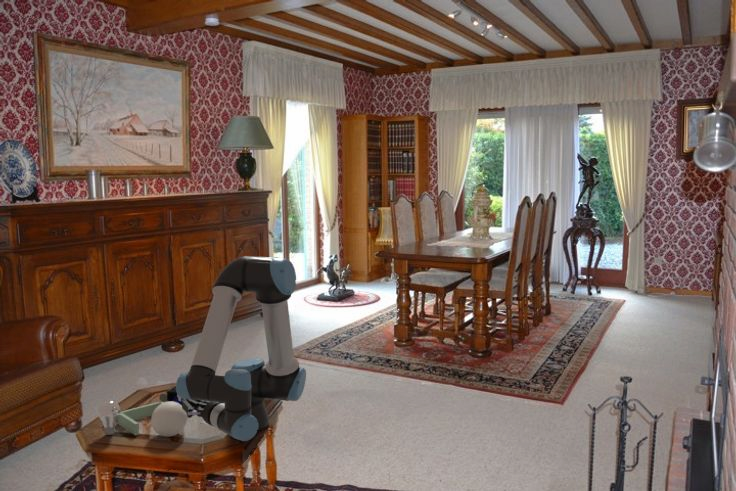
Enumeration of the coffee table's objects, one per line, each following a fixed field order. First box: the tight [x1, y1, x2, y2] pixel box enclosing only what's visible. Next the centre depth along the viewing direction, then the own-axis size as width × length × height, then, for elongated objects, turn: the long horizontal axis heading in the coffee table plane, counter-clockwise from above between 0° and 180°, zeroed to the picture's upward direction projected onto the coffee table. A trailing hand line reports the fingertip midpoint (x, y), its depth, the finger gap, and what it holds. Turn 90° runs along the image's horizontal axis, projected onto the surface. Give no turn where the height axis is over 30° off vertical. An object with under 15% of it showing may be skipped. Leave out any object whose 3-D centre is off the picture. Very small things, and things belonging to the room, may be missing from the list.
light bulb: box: [97, 400, 121, 436], centre depth 210 cm, size 7×7×12 cm
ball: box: [150, 401, 188, 438], centre depth 211 cm, size 12×12×12 cm
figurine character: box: [159, 385, 182, 405], centre depth 238 cm, size 7×8×15 cm
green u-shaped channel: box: [116, 400, 164, 436], centre depth 221 cm, size 14×17×4 cm
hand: (180, 395), depth 203 cm, fingers closed
